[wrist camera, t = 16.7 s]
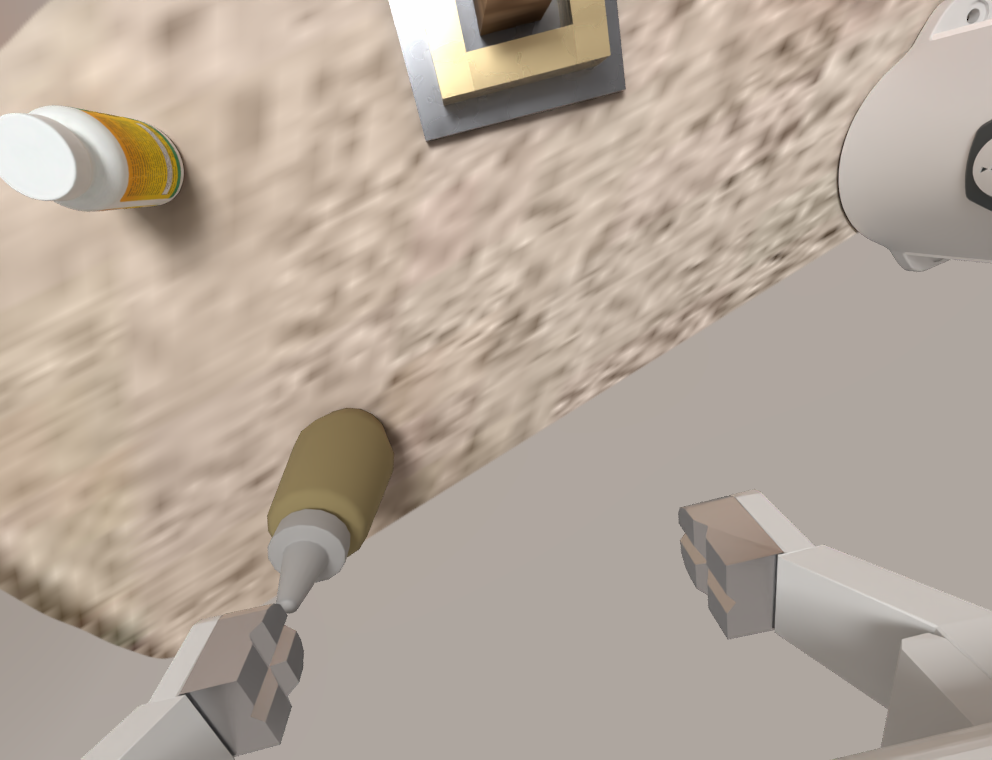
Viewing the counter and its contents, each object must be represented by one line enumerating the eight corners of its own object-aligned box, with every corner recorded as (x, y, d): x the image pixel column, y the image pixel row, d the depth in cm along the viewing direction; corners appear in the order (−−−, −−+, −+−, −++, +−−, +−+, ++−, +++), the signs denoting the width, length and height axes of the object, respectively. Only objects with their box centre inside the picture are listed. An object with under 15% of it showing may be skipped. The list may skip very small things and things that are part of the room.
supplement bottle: (141, 218, 33) (30, 233, 25) (83, 142, 31) (-61, 129, 23) (204, 183, 33) (113, 186, 24) (149, 103, 31) (28, 74, 22)
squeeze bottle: (364, 488, 44) (309, 675, 28) (287, 441, 41) (177, 617, 25) (417, 430, 42) (393, 594, 26) (341, 377, 39) (259, 521, 23)
